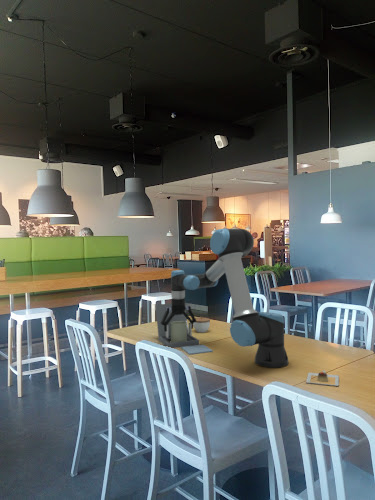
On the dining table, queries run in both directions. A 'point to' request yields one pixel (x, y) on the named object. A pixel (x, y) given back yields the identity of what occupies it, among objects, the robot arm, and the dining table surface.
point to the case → (162, 334)
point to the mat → (196, 349)
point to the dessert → (323, 378)
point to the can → (178, 331)
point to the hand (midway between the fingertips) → (178, 335)
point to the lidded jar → (201, 324)
